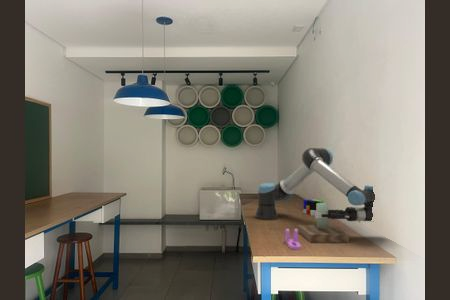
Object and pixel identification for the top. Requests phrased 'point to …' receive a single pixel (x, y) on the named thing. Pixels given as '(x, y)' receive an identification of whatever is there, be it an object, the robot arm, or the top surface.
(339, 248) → the top surface
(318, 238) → the walnut base
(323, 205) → the green post
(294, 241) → the bracket
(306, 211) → the puzzle toy
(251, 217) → the top surface
